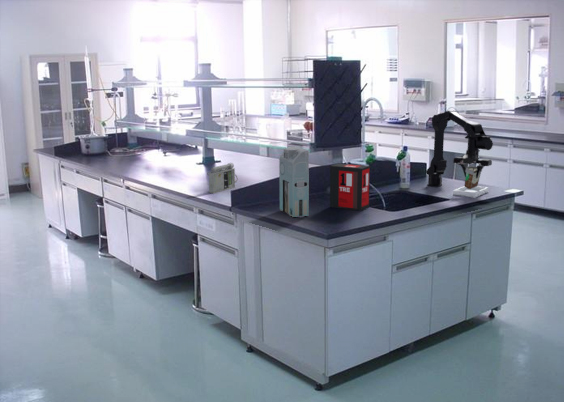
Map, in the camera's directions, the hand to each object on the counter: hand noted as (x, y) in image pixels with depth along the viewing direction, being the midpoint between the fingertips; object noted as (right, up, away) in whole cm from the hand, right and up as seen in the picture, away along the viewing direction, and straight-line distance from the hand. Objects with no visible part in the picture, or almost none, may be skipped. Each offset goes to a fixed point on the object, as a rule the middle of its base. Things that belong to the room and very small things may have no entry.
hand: (471, 177), depth 331 cm
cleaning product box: (-67, -15, -27) cm, 74 cm away
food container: (-1, -5, +2) cm, 5 cm away
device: (-94, -18, -39) cm, 103 cm away
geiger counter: (-131, -6, +19) cm, 132 cm away
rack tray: (0, -8, +2) cm, 9 cm away
